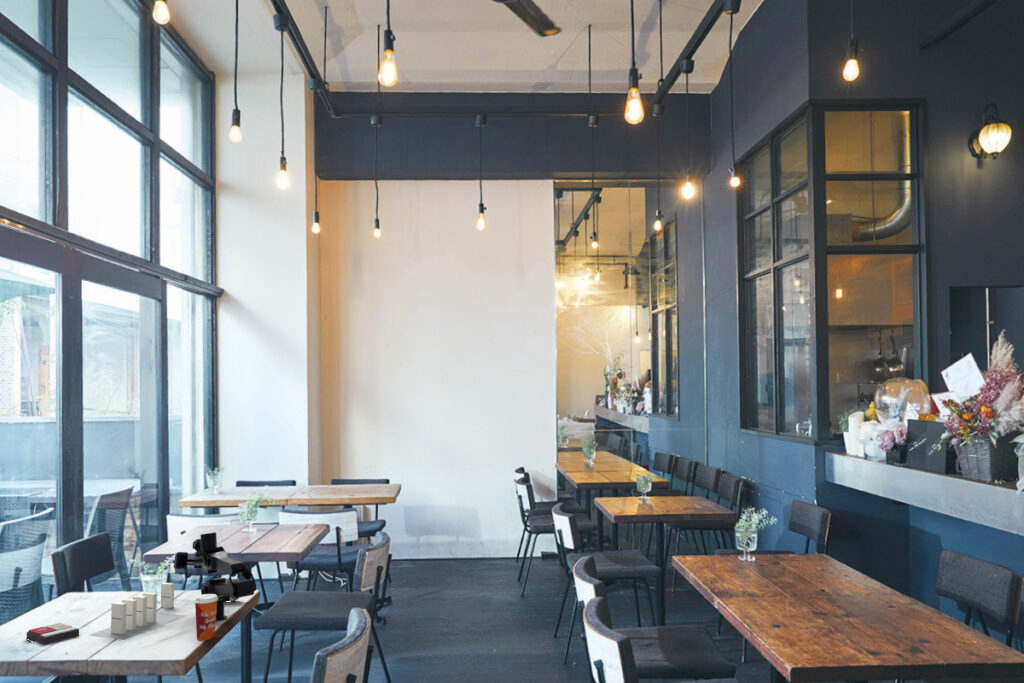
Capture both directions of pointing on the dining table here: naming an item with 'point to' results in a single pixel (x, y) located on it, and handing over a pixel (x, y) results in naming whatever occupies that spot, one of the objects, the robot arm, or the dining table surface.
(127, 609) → the domino
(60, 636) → the black and red box
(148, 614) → the domino
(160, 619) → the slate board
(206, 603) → the paper cup
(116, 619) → the domino
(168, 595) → the domino
